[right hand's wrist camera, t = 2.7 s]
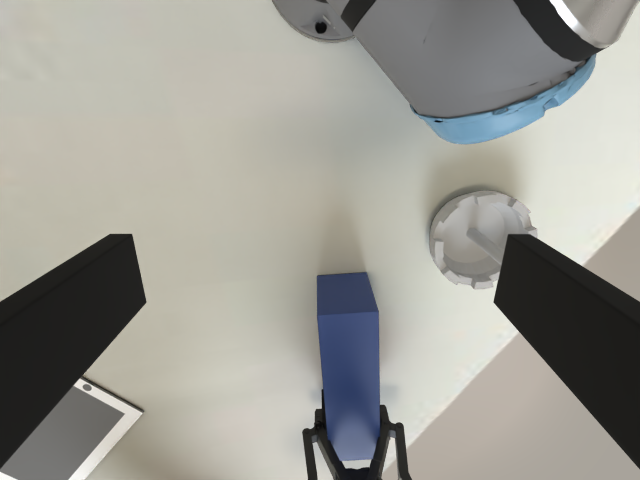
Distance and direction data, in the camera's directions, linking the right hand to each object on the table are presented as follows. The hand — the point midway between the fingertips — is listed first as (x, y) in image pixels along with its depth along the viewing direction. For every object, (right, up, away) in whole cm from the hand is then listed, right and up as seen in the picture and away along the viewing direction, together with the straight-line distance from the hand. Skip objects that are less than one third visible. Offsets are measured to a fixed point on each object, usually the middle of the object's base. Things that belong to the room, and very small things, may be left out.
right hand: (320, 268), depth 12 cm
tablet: (-49, -34, +50) cm, 78 cm away
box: (+4, -16, +44) cm, 47 cm away
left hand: (+5, -25, +46) cm, 53 cm away
